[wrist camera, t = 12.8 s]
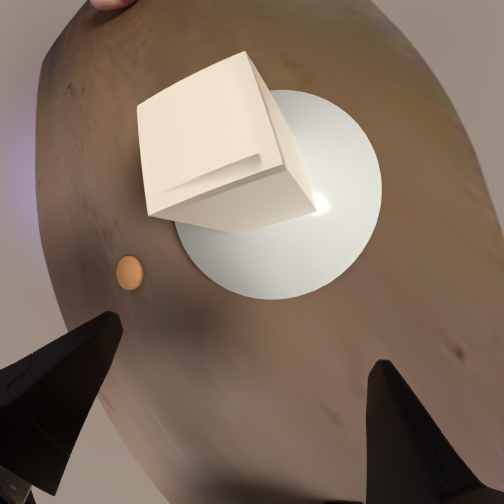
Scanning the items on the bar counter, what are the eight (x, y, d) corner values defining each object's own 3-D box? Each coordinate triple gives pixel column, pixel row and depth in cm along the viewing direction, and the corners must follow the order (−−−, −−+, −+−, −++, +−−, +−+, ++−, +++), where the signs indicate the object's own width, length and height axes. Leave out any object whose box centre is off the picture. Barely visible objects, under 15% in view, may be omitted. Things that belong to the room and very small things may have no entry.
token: (142, 292, 25) (138, 292, 25) (119, 286, 26) (115, 286, 26) (145, 258, 25) (141, 257, 25) (121, 254, 26) (117, 254, 26)
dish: (368, 309, 19) (370, 313, 18) (173, 280, 24) (162, 282, 23) (377, 101, 19) (378, 91, 17) (196, 107, 24) (188, 100, 23)
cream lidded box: (317, 211, 19) (283, 164, 9) (238, 234, 21) (148, 215, 11) (294, 136, 20) (245, 50, 10) (222, 162, 21) (136, 106, 12)
